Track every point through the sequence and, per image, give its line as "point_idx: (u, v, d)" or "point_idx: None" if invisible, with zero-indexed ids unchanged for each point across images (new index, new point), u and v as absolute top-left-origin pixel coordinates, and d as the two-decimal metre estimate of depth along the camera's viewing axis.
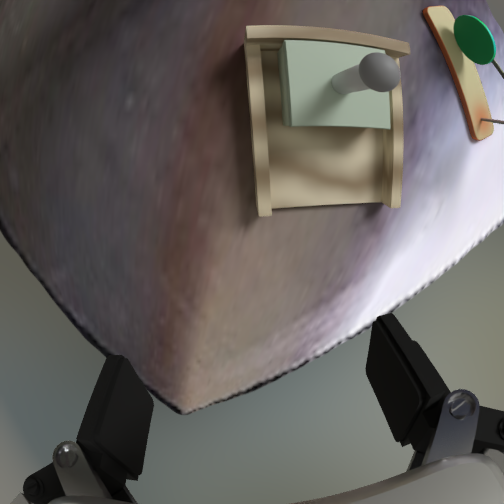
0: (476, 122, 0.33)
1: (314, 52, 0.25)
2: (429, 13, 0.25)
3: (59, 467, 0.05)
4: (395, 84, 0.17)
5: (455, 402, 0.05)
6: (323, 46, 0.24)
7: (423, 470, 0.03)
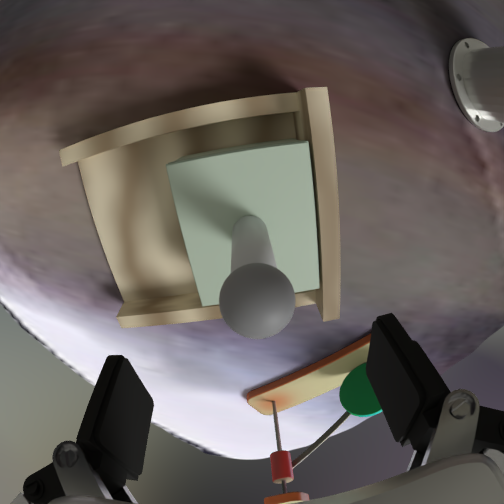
0: (266, 396, 0.39)
1: (293, 186, 0.20)
2: None
3: (59, 467, 0.05)
4: (236, 332, 0.13)
5: (455, 402, 0.05)
6: (305, 199, 0.20)
7: (422, 470, 0.03)
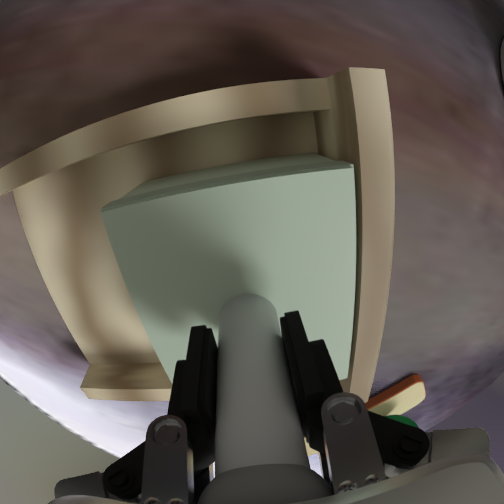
0: None
1: (324, 244, 0.12)
2: (413, 385, 0.26)
3: (159, 446, 0.06)
4: None
5: (334, 409, 0.06)
6: (343, 266, 0.12)
7: (423, 470, 0.03)
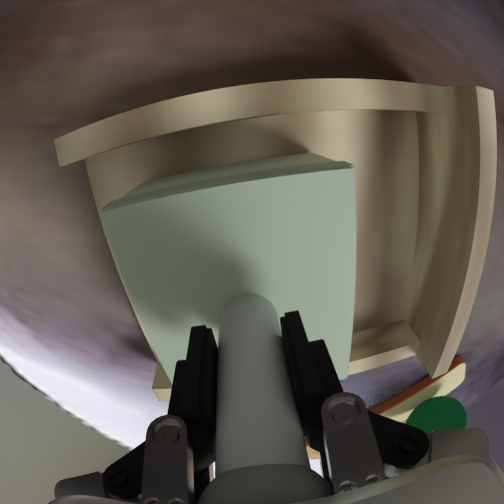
0: None
1: (324, 244, 0.12)
2: (458, 366, 0.26)
3: (159, 446, 0.06)
4: None
5: (334, 409, 0.06)
6: (343, 266, 0.12)
7: (423, 470, 0.03)
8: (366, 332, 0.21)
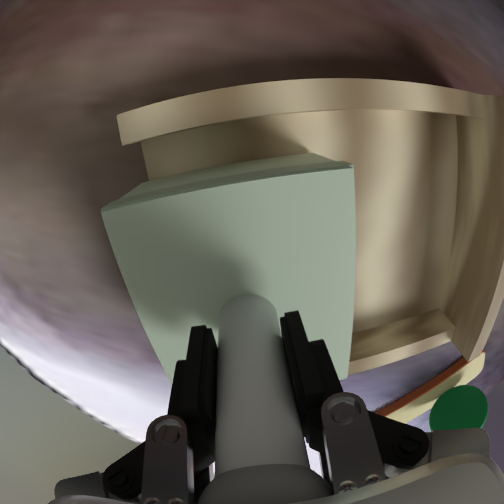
0: None
1: (324, 245, 0.12)
2: (479, 356, 0.26)
3: (159, 446, 0.06)
4: None
5: (334, 409, 0.06)
6: (343, 266, 0.12)
7: (422, 470, 0.03)
8: (407, 320, 0.21)
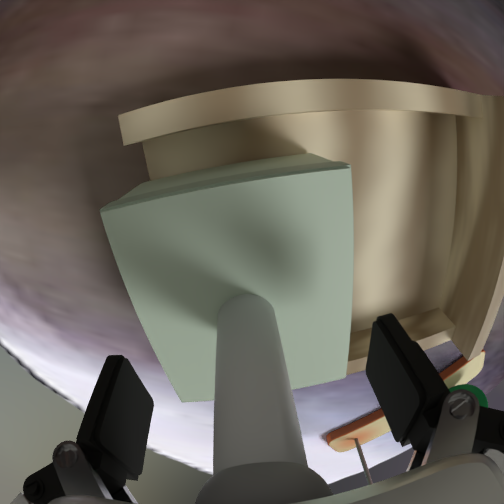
0: (351, 435, 0.30)
1: (322, 245, 0.12)
2: (478, 355, 0.26)
3: (59, 467, 0.05)
4: None
5: (455, 402, 0.05)
6: (341, 266, 0.12)
7: (422, 470, 0.03)
8: (407, 320, 0.22)
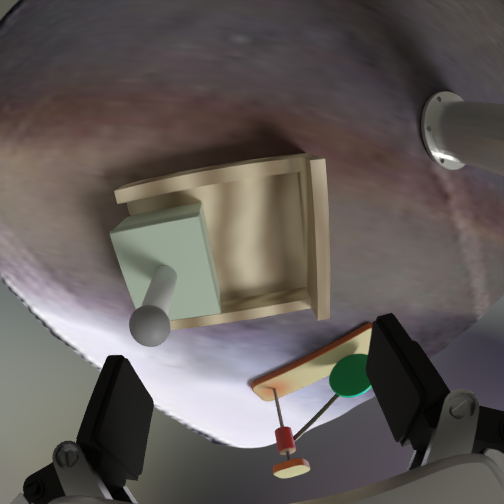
0: (268, 384, 0.48)
1: (191, 246, 0.30)
2: (368, 330, 0.45)
3: (59, 467, 0.05)
4: (138, 342, 0.22)
5: (455, 402, 0.05)
6: (200, 254, 0.30)
7: (422, 470, 0.03)
8: (279, 292, 0.40)
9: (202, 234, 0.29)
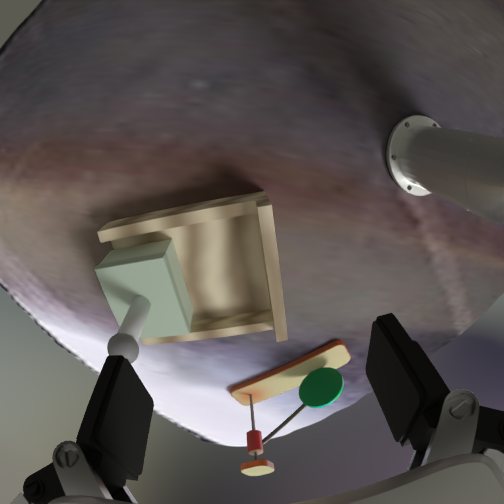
0: (245, 390, 0.53)
1: (160, 280, 0.34)
2: (336, 347, 0.49)
3: (59, 467, 0.05)
4: None
5: (455, 402, 0.05)
6: (168, 287, 0.35)
7: (423, 469, 0.03)
8: (246, 314, 0.44)
9: (168, 271, 0.34)
